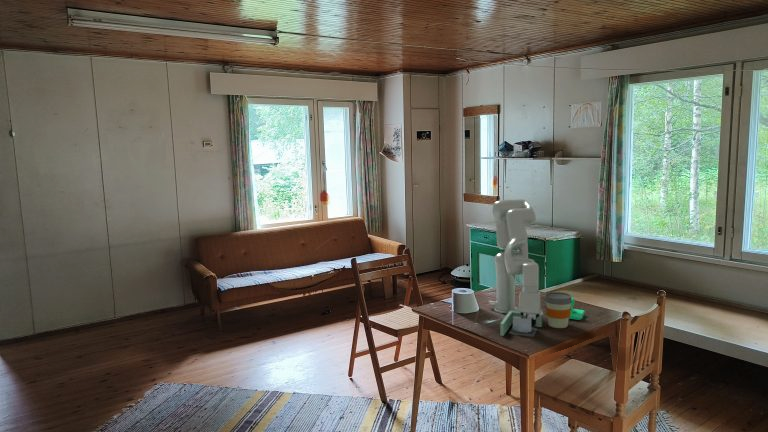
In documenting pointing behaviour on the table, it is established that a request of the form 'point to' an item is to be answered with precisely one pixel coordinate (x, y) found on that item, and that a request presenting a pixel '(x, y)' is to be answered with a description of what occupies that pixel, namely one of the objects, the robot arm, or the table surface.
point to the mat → (523, 332)
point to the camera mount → (576, 312)
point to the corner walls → (509, 320)
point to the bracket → (523, 323)
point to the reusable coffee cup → (558, 309)
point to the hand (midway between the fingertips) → (530, 325)
